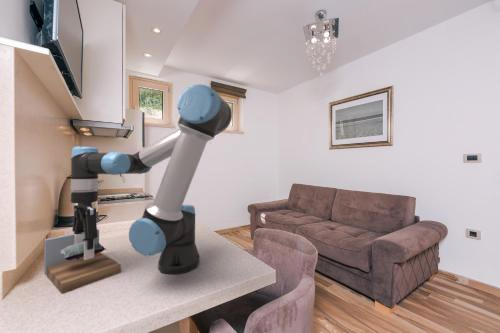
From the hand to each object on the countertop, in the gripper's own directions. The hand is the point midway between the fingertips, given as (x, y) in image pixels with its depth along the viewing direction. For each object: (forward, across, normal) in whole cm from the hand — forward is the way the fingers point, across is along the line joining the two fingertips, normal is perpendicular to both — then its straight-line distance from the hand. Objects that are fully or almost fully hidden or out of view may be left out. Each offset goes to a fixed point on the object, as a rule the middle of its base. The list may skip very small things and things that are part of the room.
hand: (84, 255), depth 74 cm
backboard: (+7, +11, 0) cm, 13 cm away
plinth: (+7, 0, 0) cm, 7 cm away
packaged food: (+1, 0, 0) cm, 1 cm away
